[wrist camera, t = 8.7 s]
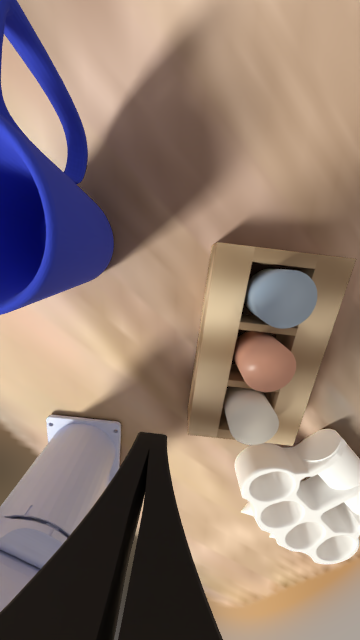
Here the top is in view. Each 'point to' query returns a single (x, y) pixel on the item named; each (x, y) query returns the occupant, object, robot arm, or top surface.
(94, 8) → the top surface
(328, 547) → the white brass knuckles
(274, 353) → the pink egg
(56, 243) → the mug
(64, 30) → the top surface
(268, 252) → the wooden compartment tray
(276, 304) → the pale blue rounded lump
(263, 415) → the pale grey rounded piece
